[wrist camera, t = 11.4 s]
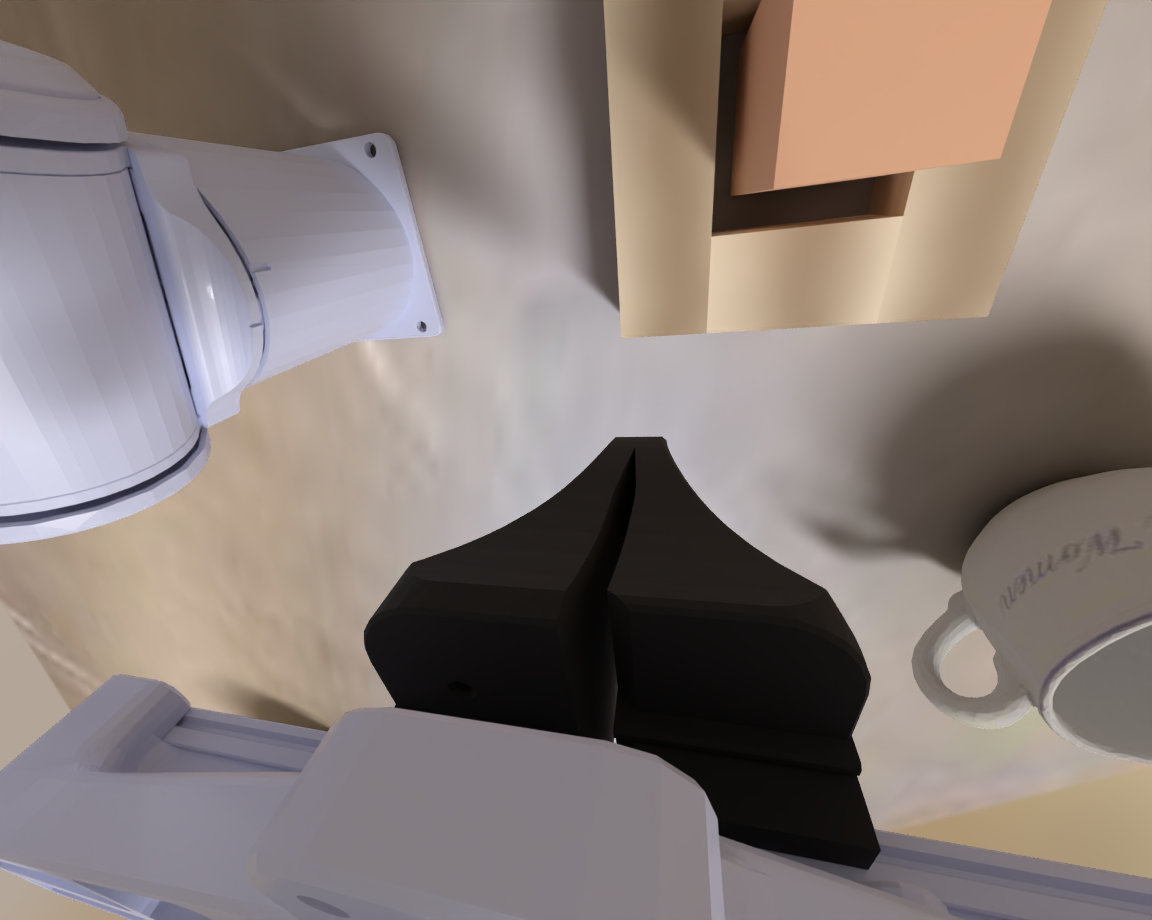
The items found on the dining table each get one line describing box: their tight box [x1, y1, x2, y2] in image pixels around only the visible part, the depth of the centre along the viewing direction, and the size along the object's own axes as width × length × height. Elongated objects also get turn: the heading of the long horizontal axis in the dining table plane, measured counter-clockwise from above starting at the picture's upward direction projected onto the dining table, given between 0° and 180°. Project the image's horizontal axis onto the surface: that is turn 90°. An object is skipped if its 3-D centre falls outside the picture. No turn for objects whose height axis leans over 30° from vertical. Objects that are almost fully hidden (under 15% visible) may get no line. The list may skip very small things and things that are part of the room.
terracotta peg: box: [730, 0, 1052, 196], centre depth 11 cm, size 4×4×8 cm
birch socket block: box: [603, 0, 1108, 338], centre depth 13 cm, size 12×12×3 cm
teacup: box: [912, 467, 1152, 764], centre depth 17 cm, size 14×11×8 cm
